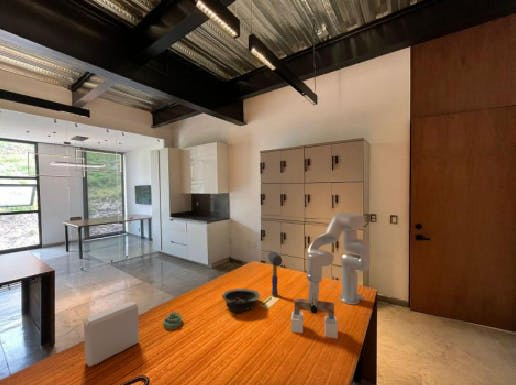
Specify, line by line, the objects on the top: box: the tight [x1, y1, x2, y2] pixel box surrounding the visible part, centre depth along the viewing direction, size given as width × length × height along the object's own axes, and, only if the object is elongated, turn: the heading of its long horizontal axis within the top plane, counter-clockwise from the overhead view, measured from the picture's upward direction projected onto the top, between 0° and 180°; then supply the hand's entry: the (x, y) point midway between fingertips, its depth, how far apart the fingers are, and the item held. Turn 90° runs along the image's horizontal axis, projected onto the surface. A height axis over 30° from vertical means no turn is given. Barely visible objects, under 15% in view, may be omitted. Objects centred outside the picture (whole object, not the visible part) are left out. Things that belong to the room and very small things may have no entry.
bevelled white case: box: [83, 300, 140, 367], centre depth 109 cm, size 21×8×20 cm, turn 141°
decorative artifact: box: [162, 311, 183, 330], centre depth 131 cm, size 10×7×10 cm
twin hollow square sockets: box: [290, 311, 339, 340], centre depth 124 cm, size 24×7×7 cm, turn 77°
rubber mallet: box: [267, 250, 283, 297], centre depth 163 cm, size 12×8×30 cm, turn 14°
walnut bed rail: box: [294, 297, 335, 319], centre depth 124 cm, size 20×4×7 cm, turn 77°
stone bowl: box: [221, 288, 261, 313], centre depth 150 cm, size 25×25×9 cm
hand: (313, 310), depth 124 cm, fingers closed on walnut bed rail, 3 cm apart
